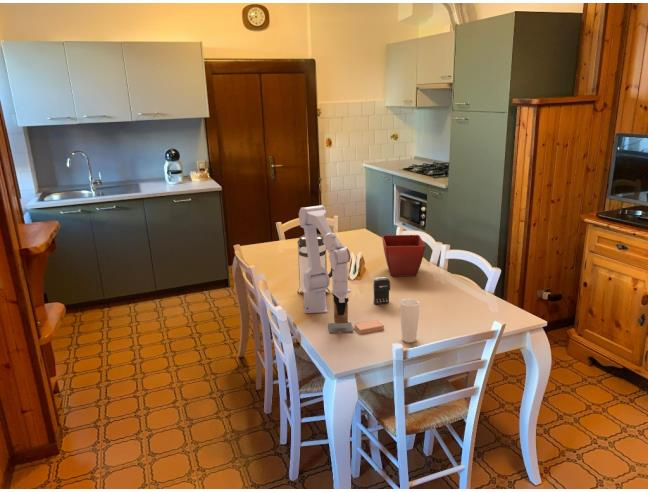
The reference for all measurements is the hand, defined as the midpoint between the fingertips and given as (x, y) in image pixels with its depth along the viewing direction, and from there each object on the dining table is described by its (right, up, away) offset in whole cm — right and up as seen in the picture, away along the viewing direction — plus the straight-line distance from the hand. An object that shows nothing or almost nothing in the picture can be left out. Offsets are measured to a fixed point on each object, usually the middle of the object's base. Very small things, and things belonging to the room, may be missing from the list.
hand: (340, 312), depth 190 cm
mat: (0, -6, +2) cm, 7 cm away
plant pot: (+33, +12, +60) cm, 70 cm away
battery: (+19, +1, +24) cm, 31 cm away
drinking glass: (+25, -9, -8) cm, 28 cm away
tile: (+10, -5, +3) cm, 12 cm away
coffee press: (-10, +4, +38) cm, 39 cm away
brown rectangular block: (0, -3, +1) cm, 4 cm away
